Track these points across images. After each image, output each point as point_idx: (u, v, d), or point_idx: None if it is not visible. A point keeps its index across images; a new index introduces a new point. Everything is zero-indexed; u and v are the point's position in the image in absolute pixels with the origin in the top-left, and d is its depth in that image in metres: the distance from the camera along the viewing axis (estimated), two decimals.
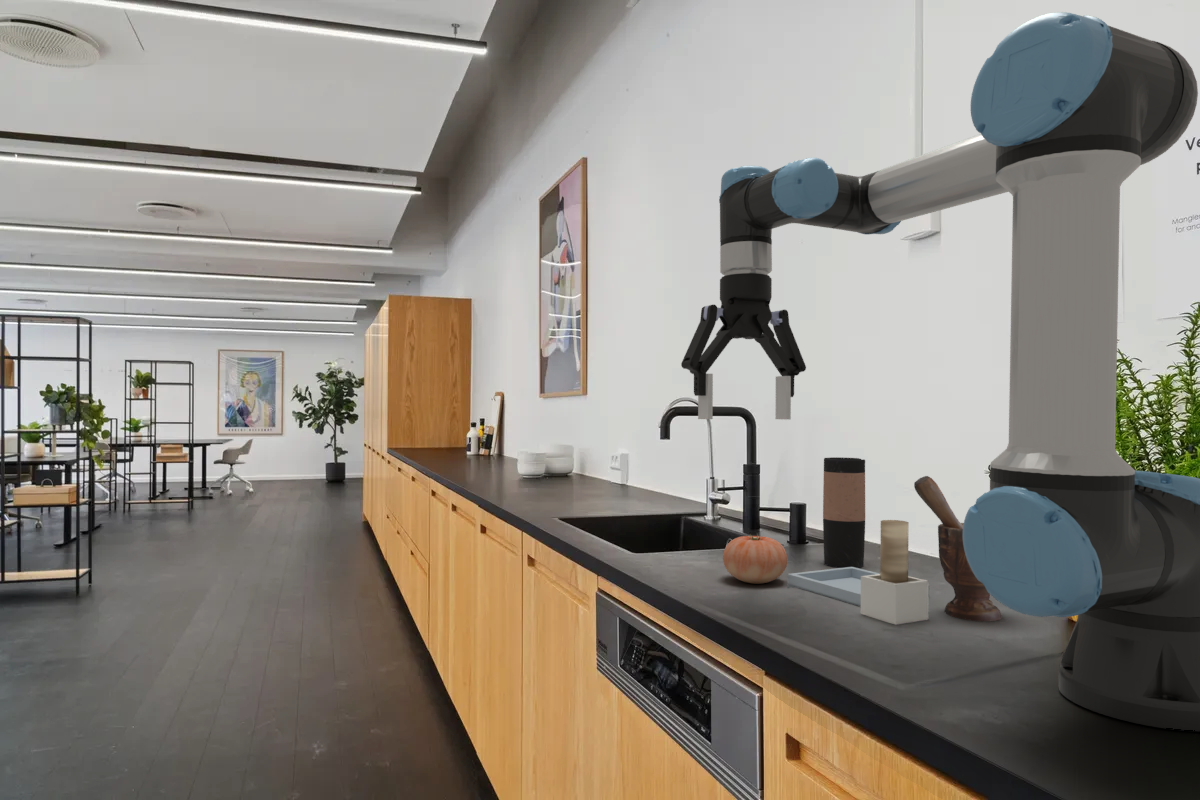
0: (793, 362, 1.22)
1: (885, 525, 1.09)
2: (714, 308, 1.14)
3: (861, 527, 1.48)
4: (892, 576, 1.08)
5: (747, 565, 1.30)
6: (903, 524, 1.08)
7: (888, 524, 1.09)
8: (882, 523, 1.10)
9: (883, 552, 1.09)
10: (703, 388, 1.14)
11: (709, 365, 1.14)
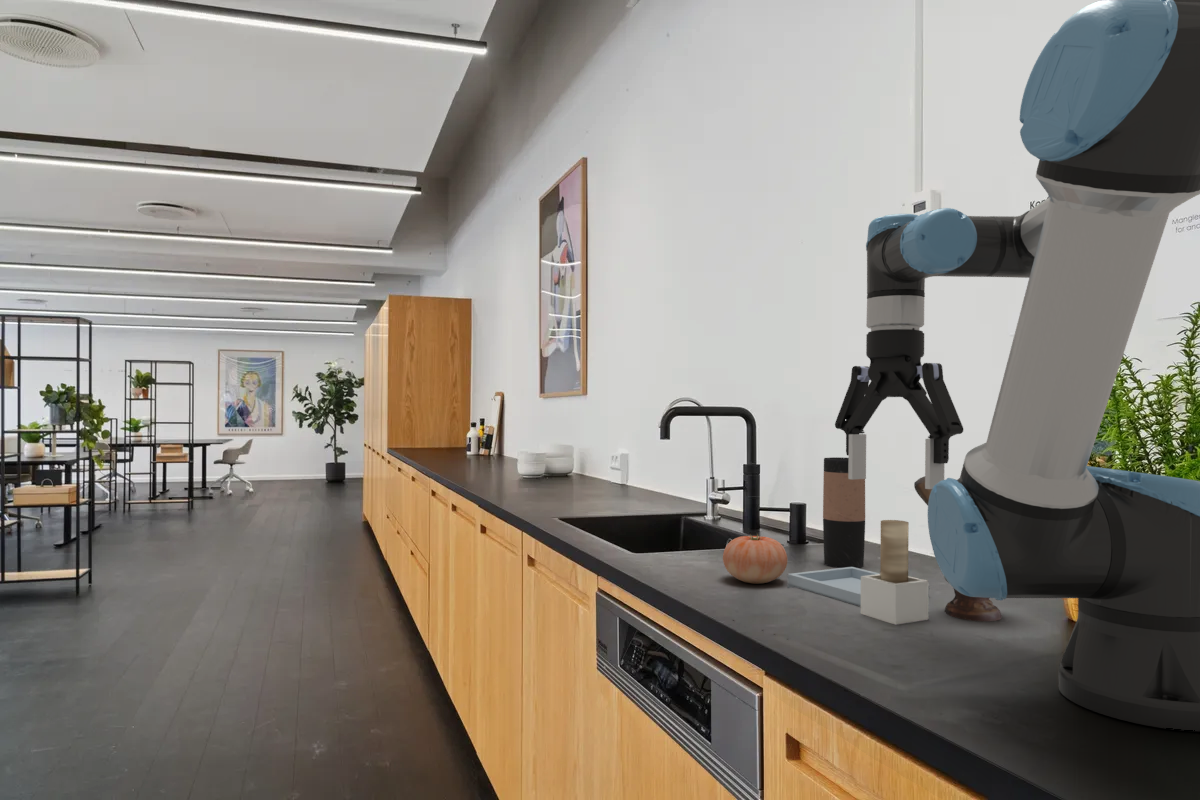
0: None
1: (885, 525, 1.09)
2: (854, 370, 1.15)
3: (861, 527, 1.48)
4: (892, 576, 1.08)
5: (746, 565, 1.30)
6: (903, 524, 1.08)
7: (888, 524, 1.09)
8: (882, 523, 1.10)
9: (883, 552, 1.09)
10: None
11: (851, 426, 1.16)
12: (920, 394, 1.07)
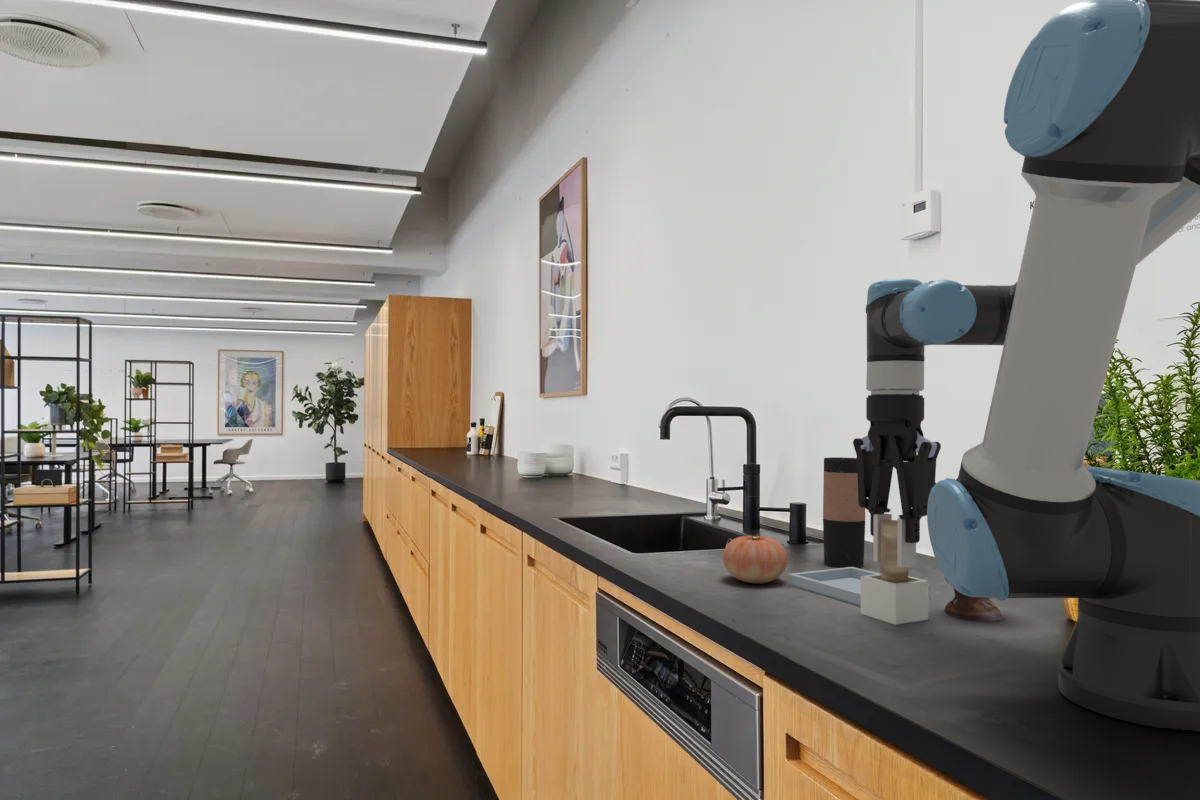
0: None
1: (885, 524, 1.09)
2: (855, 442, 1.15)
3: (861, 527, 1.48)
4: (892, 576, 1.08)
5: (746, 565, 1.31)
6: None
7: (888, 524, 1.09)
8: (882, 523, 1.10)
9: (883, 552, 1.09)
10: None
11: (874, 503, 1.12)
12: (910, 467, 1.08)
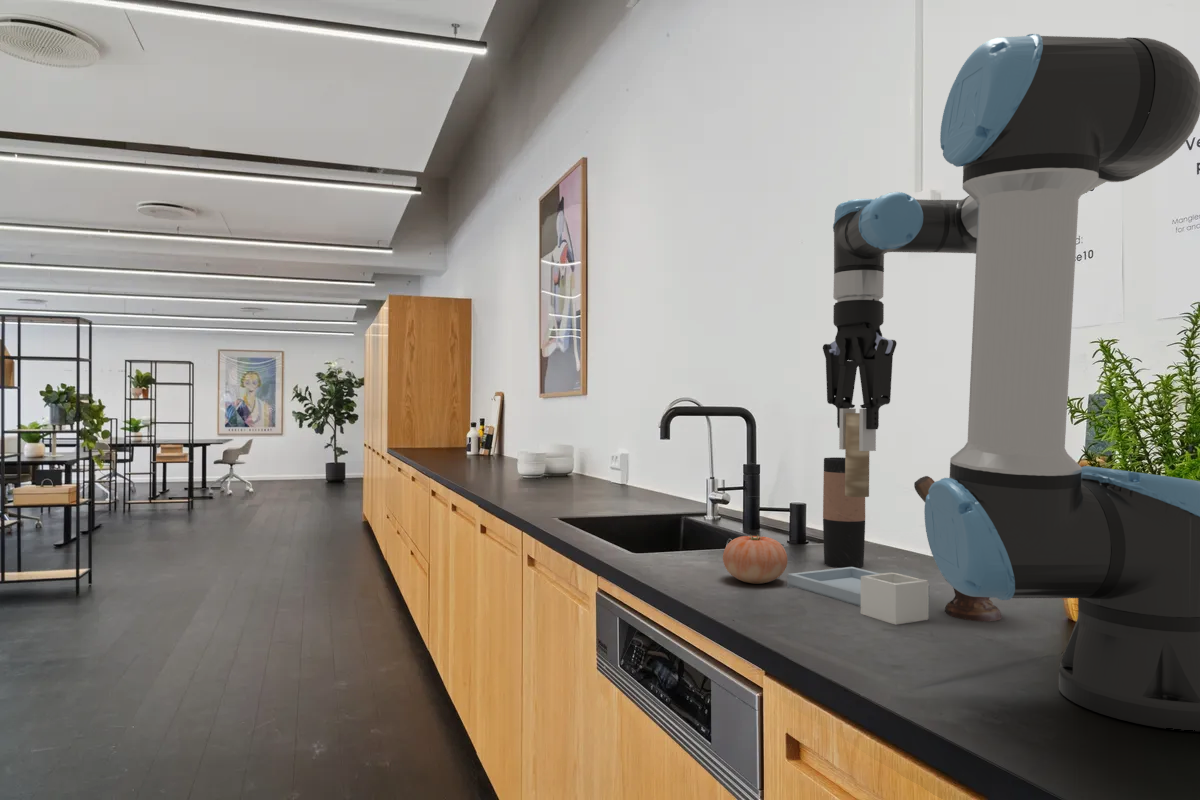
0: None
1: (849, 415, 1.25)
2: (824, 347, 1.30)
3: (861, 527, 1.48)
4: (854, 459, 1.24)
5: (747, 565, 1.30)
6: None
7: (852, 414, 1.24)
8: (847, 414, 1.25)
9: (847, 439, 1.25)
10: None
11: (840, 398, 1.27)
12: (871, 364, 1.23)
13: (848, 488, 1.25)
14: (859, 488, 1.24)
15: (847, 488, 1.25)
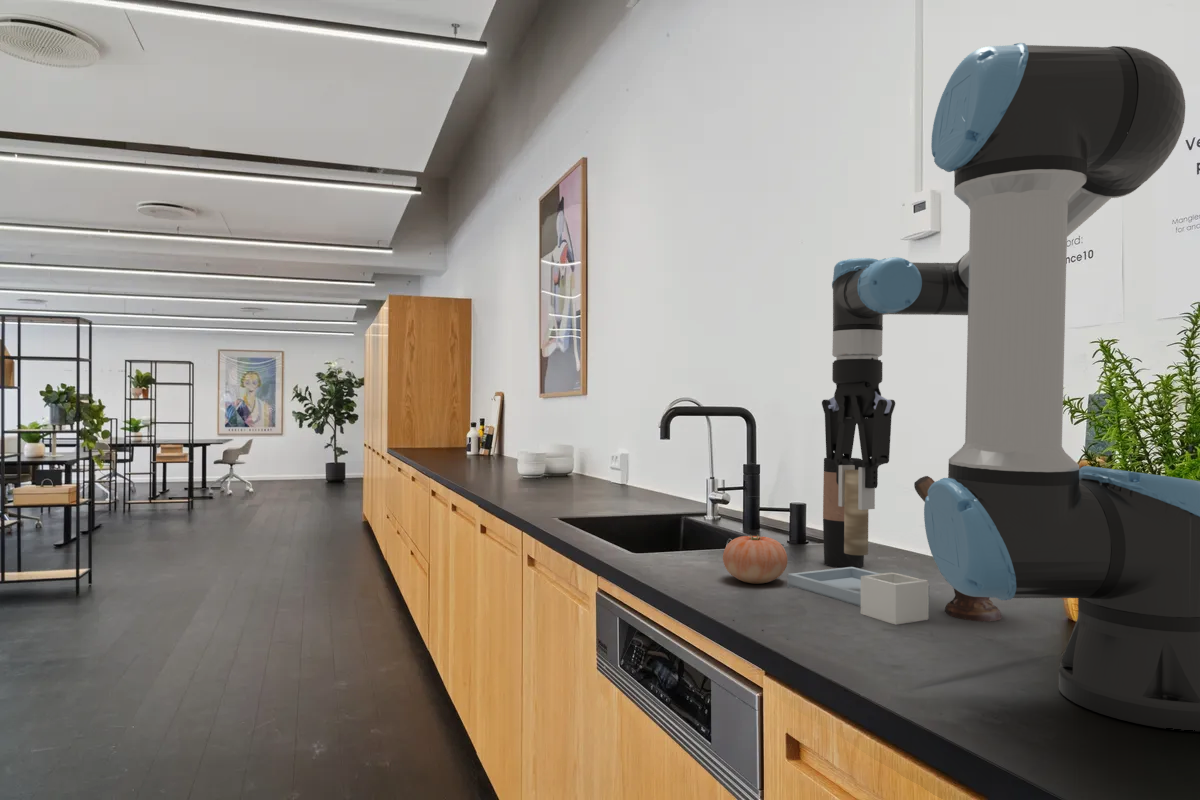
0: None
1: (848, 473, 1.25)
2: (823, 403, 1.30)
3: None
4: (853, 517, 1.24)
5: (747, 565, 1.31)
6: None
7: (851, 472, 1.24)
8: (846, 472, 1.25)
9: (846, 497, 1.25)
10: None
11: (839, 455, 1.27)
12: (870, 422, 1.24)
13: (847, 546, 1.25)
14: (858, 546, 1.24)
15: (846, 546, 1.25)
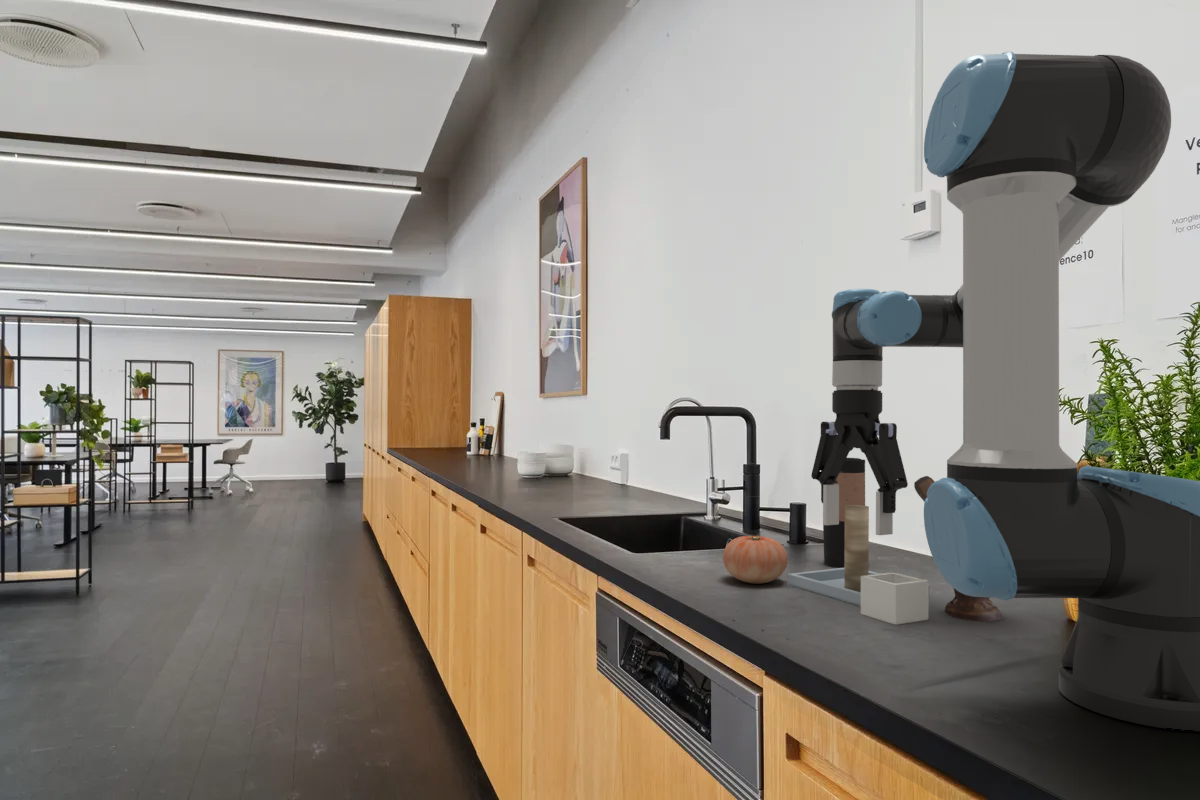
0: (901, 477, 1.19)
1: (848, 509, 1.25)
2: (822, 425, 1.31)
3: None
4: (854, 554, 1.24)
5: (747, 565, 1.30)
6: (864, 508, 1.24)
7: (851, 508, 1.24)
8: (846, 507, 1.25)
9: (846, 533, 1.25)
10: None
11: (825, 477, 1.30)
12: (876, 449, 1.22)
13: (848, 582, 1.25)
14: (859, 583, 1.24)
15: (846, 582, 1.25)
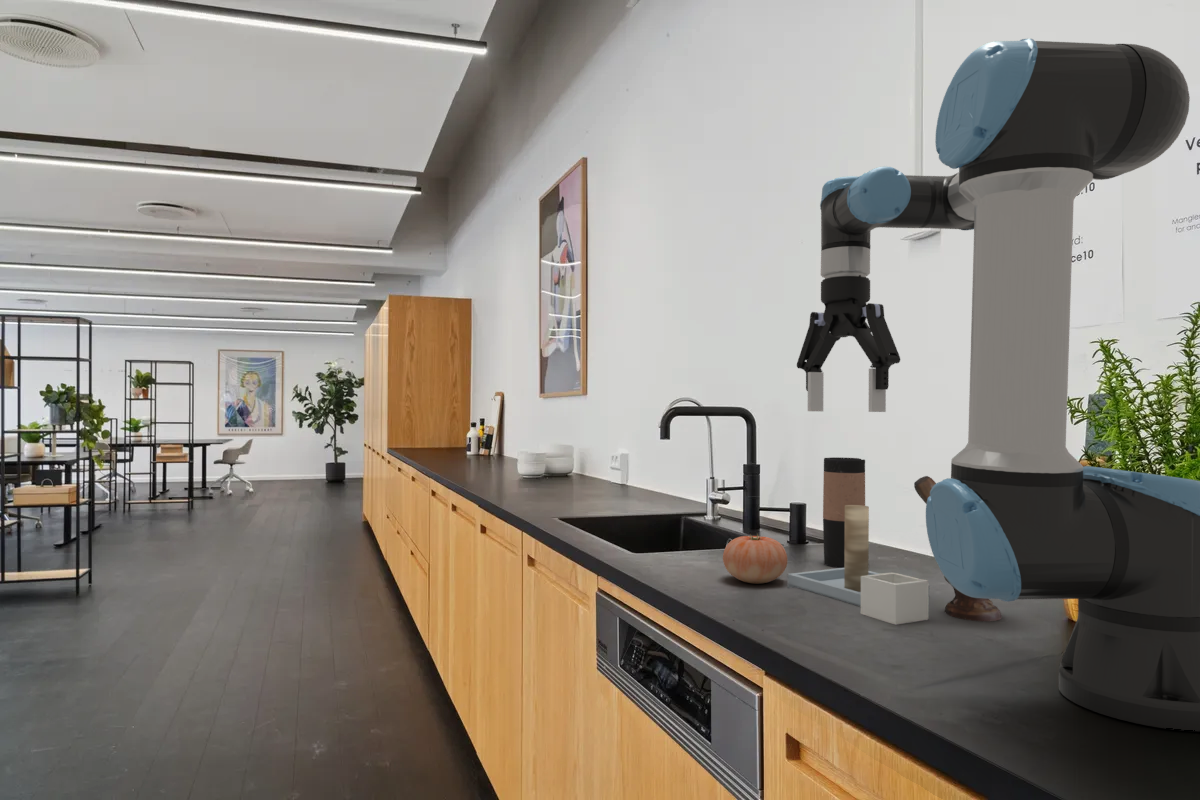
0: (893, 353, 1.19)
1: (848, 509, 1.25)
2: (812, 315, 1.32)
3: None
4: (854, 553, 1.24)
5: (747, 565, 1.31)
6: (864, 508, 1.24)
7: (851, 508, 1.24)
8: (846, 507, 1.25)
9: (846, 532, 1.25)
10: None
11: (809, 365, 1.32)
12: (865, 332, 1.23)
13: (848, 582, 1.25)
14: (859, 583, 1.24)
15: (846, 582, 1.25)
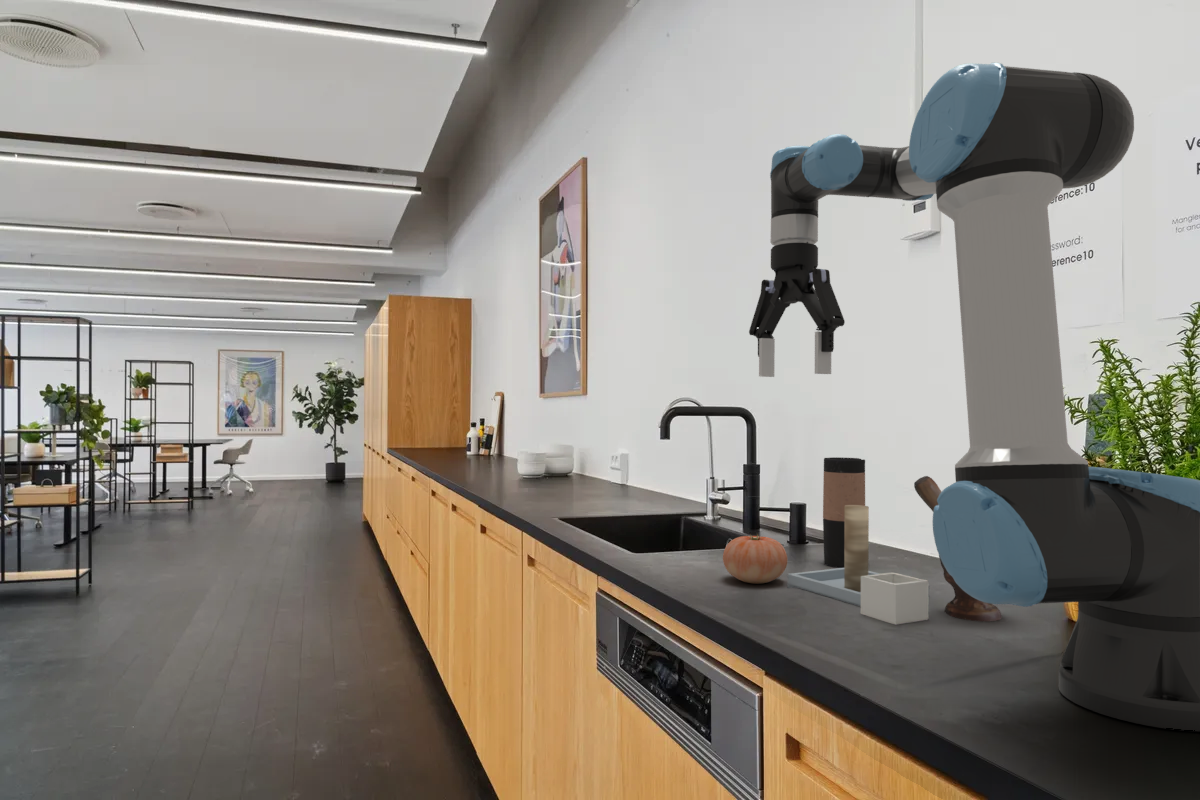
0: (838, 316, 1.22)
1: (848, 509, 1.25)
2: (763, 282, 1.35)
3: None
4: (854, 554, 1.24)
5: (746, 565, 1.31)
6: (863, 508, 1.24)
7: (850, 508, 1.24)
8: (845, 507, 1.25)
9: (846, 533, 1.25)
10: None
11: (761, 331, 1.36)
12: (812, 297, 1.27)
13: (848, 582, 1.25)
14: (859, 583, 1.24)
15: (846, 582, 1.25)
